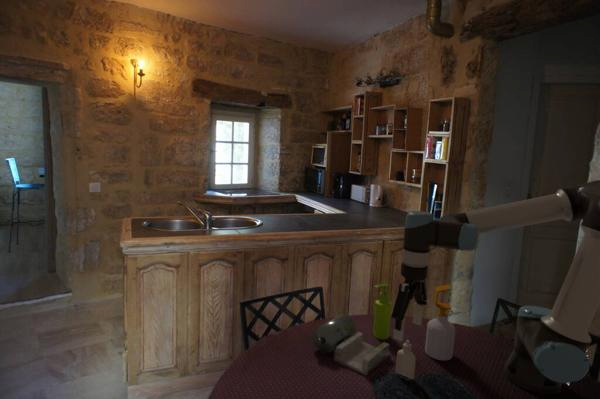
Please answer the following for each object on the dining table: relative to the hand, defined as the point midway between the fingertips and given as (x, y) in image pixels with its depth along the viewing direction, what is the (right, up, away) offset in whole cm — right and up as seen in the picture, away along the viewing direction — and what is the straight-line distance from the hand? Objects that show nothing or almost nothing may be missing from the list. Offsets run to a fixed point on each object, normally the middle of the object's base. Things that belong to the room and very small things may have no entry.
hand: (407, 331), depth 112 cm
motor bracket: (-16, -12, +14) cm, 25 cm away
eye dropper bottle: (0, -15, +2) cm, 15 cm away
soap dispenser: (-3, -11, +27) cm, 30 cm away
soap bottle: (+15, -14, +16) cm, 26 cm away
